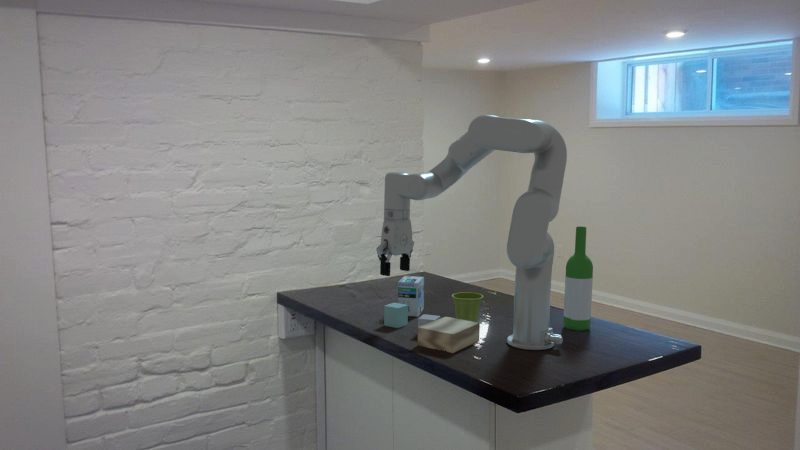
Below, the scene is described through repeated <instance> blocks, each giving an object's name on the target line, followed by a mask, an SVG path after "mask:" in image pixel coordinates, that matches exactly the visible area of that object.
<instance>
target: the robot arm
mask: <svg viewBox="0 0 800 450" xmlns="http://www.w3.org/2000/svg"><path fill="white" fill-rule="evenodd" d="M495 151H503V152H510V153H519V154H533V155H534V161H533V165H532V168H531V172H530V179H529V184H528V188H527V190H526V191H525V192H523V193H522V194H521V195H520V196H519V197H518V198H517V199H516V201H515V204H514V207H513V210H512V214H511V219H510V220H511V221H510V226H509V230H508V231H509V232H508V235H507V237H508V238H507V243H506V254H507V257H508V260H509V261H510V263H511V264H512V265H513V266H514V267H515V275H514V294H513V295H514V296H513V297H514V298H513V323H512V324H513V326H512V328H513V329H512V334H510V335H508V336H507V337H506V338H507V339H506V343H507V344H508V345H509V346H511V347H513V348H517V349H522V350H529V351H542V350H548V349H552V348H553V347H554V346H555V344H558V345H562V344H563V341H564V339H563V335H562V334H557V333H554V332H553V331H554V330H553V328H552V327H550V315H551V313H550V310H551V309H550V308H551V291H552V290H551V289H552V273H553V272H552V271H553V264H554V257H555V243H554V239H553V237H552V235H551V234H550V233H549V232H548V229H549V223H550V222H552V221H554V219H555V218H556V217H557V215H558V213H559V208H560V201H561V196H562V190H563V184H564V177H565V172H566V167H567V159H568V149H567V145H566V142H565V138H564V137H563V136H562V133H560V132H559V130H557V129H556V128H555V127H554V126H553V125H552V124H550V123H548V122H545V121H544V120H540V119H524V118H512V117H503V116H498V115H493V114H491V115H490V114H482V115H481V114H480V115H478V116H476V117H475V118H473V119H472V120H471V122H470V123H469V125H468V128H467V132H465V133H464V134H463V135H462V136H460V137H459V138H457V139H456V141H454V142H452V143H451V144H450V145H449V146H448V151H447V154H446V156H445V158H443V160H441V162H439V163H438V164H436V165H435V166H434V167H433V168H431V169H430V170H428V171H427V172H420V173H411V174H410V173H408V172H402V171H401V172H400V171H398V172H397V171H392V172H386V174H385V176H384V197H383V198H384V201H383V206H384V207H383V208H384V209H383V223H382V227H381V238H380V244H379V245H378V246H377V247H376V249H375V250H376V254H377V258H378V261H379V263H380V264H379V265H380V266H379V269H380V271H379V274H380V276H386V277H390V276H391V265H392V264H391V262H390V260H391V259H392V256H400V255H401V256H400V257H399V270H400V271H405V272H409V271H410V267H411V265H410V263H411V257H412V253H413V250H414V249H413V248H414V245H415V241H414V240H413V228H412V227H413V226H412V221H411V219H410V217H411V216H410V215H411V200H414V201H424V200H427V199H433V198H436V197H438V196H440V195H441V194H442V193H444V192H445V191H446V190H448V189H450V187H452V186H453V185H454V184H455V183H457V182H458V181H460V179H461V178H462V177H463V176H465V175H466V174H467V172H469V170H470V169H472V168H473V167H474V166H476V165H477V164H479V163H480V162H481V161H482V160H483V159H485V158H486V157H487V156H489V155H491V153H493V152H495Z"/></svg>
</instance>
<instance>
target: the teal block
mask: <svg viewBox="0 0 800 450" xmlns="http://www.w3.org/2000/svg"><path fill="white" fill-rule="evenodd" d="M383 307H384V308H383V310H384V311H383V312H384V313H383V317H384V319H383V323H384V324H383V325H384V327H390V328H395V329H400V328H402V327H406V326H408V325H409V320H408V319H409V316H408V305H405V304H400V303H398V302H391V303H389V304H385V305H384V306H383Z"/></svg>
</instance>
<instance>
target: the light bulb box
mask: <svg viewBox="0 0 800 450" xmlns="http://www.w3.org/2000/svg"><path fill="white" fill-rule="evenodd" d="M424 295H425V277H424V276H415V275H414V276H411V275H404V276H403V277H401V278H400V280H398V281H397V303H400V304H405V305H408V317H418V318H419V316H420V315H421V314H422V312H423V311H424V308H425V307H424V306H425V305H424V303H425V299H424V298H425V296H424Z"/></svg>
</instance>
